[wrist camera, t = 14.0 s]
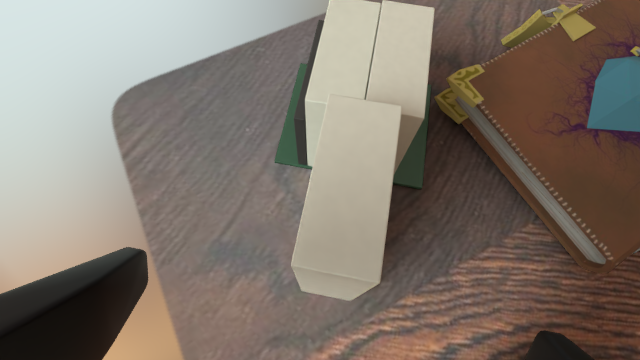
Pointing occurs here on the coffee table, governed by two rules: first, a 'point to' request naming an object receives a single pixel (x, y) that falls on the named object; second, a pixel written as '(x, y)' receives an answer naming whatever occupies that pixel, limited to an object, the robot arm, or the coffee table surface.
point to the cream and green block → (365, 78)
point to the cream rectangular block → (348, 199)
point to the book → (565, 124)
